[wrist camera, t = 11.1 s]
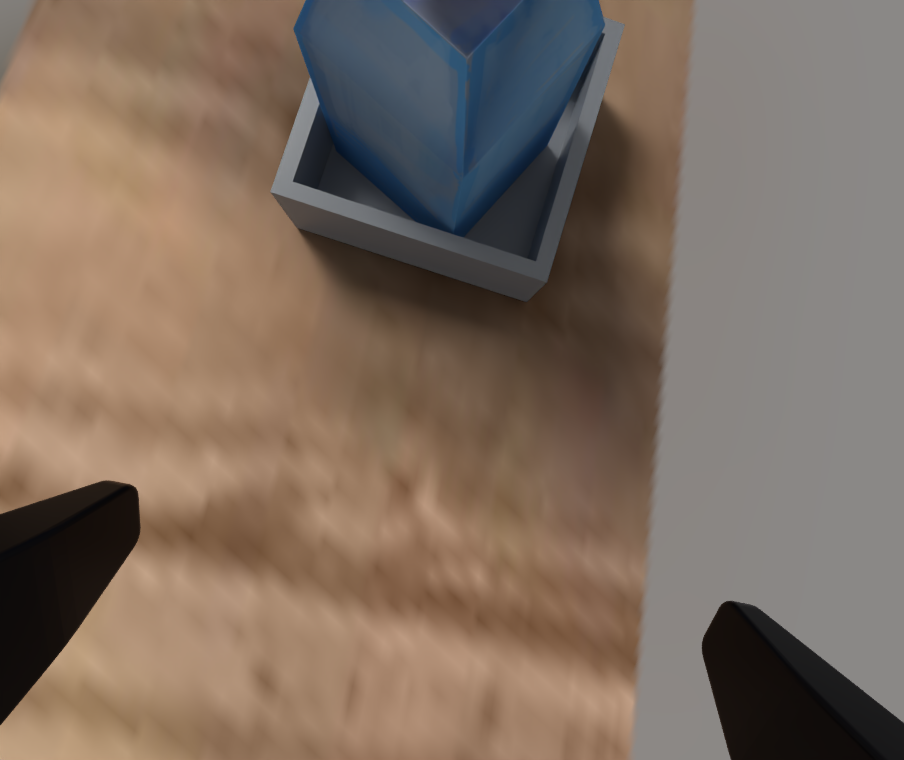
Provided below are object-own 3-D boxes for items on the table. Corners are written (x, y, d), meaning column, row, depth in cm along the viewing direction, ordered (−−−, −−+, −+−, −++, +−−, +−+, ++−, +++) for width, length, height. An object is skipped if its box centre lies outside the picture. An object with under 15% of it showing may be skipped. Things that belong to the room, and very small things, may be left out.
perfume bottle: (547, 144, 19) (746, -269, 7) (450, 252, 19) (493, -5, 7) (436, 45, 19) (457, -535, 7) (336, 150, 19) (183, -285, 7)
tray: (526, 302, 20) (547, 282, 17) (296, 227, 19) (270, 191, 16) (592, 84, 20) (624, 24, 17) (371, 8, 20) (360, -70, 17)
